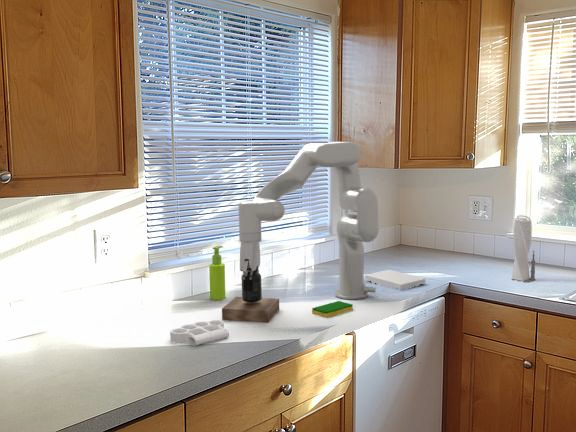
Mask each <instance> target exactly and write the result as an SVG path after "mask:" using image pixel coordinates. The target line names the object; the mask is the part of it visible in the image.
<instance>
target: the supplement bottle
mask: <svg viewBox="0 0 576 432" xmlns="http://www.w3.org/2000/svg"><path fill="white" fill-rule="evenodd" d="M258 269H259V268H258V266H257V267H256V270H254V271H253V274H252V279H253V291H244V280H243V274H241V297H242V300H243V301H245V302H257V301H260V300H261V299H262V298H263V296H262V295H263V292H262V290H263V289H262V288H263V287H262V286H263V285H262V275H261V273H260V272H259V273H258ZM248 270H251V269H248ZM249 275H250V273H249Z"/></svg>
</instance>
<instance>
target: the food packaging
mask: <svg viewBox="0 0 576 432" xmlns="http://www.w3.org/2000/svg"><path fill="white" fill-rule="evenodd" d="M364 280H368V281H370V282H371V284H372V283H374V284H375V283H376V284H375V285H378V284H380V285H379V286H381V285H384V286H383V287H385V286H388V287H387V288H389V287H392V288H391V289H393V288H395V289H394V290H398V289H399V290H398V291H403V290H402V289H405V290H408V289H407V288H409V289H411V288H410V287H413V286H417V285H419V286H421V285H420V284H422V285H425V284H426V278H424V277H420V276H416V275H412V274H408V273H403V272H402V271H401V272H400V271H395V270H391V269H386V270H381V271H377V272H373V273H368V274H364ZM413 288H414V287H413Z"/></svg>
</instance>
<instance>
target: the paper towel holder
mask: <svg viewBox="0 0 576 432" xmlns="http://www.w3.org/2000/svg"><path fill="white" fill-rule="evenodd" d="M532 226H533V225H532V220H531V218H530V217H529V216H527V215H521V214H520V215H517V216H516V217H515V218H514V224H513V230H512V232H513V234H512V237H513V238H512V241H513V242H512V243H513V251H514V261H513V267H512V274H511V280H512V281H515V280H517V281H516V282H521V281H523V282H522V283H527V282H528V283H530V281H531V282H533V281H534V282H535V281H536V280H537V279H536V276H535V275H536V274H535V273H536V270H535V269H536V266H535V265H536V260H535V250H532V260H531V261H530V262H529V257H528V256H529V252H530V248H531V244H532V235H533V233H532V232H533V230H532ZM529 263H531V264H530V265H531V267H530V265H529Z"/></svg>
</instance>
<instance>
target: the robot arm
mask: <svg viewBox="0 0 576 432" xmlns="http://www.w3.org/2000/svg"><path fill="white" fill-rule="evenodd" d="M361 154H362V151H361V148H360V146H359V145H358V144H357V143H355V142H353V141H329V142H326V143H325V142H318V143H317V142H313V143H312V142H311V143H307V144H305V145H303V147H302V148H300V150H299V152H298V153H297V154H296V155H295V156H294V158H293V159H292V160H291V161H290V163H289V164H288V165H287V166H286V168H285V169H284V171H282V172H281V173H280V174H278V175H277V176H275V177H273V179H271V180H270V181H269V182H267V183H266V184H265V185H264V186H262V188H261V189H260V190H259V191H258V193H256V195H255V196H254V197H253V199H252V200H243V201H240V203H239V204H238V231H239V232H238V233H239V234H238V235H239V236H238V237H239V243H240V245H239V247H240V248H239V249H240V250H239V271H240V272H242V275H243V280H244V291H253V279H252V274H253V271H254V270H256V267H257V266H258V273H259V274H260V271H259V268H260V266H261V250H260V249H261V246H260V243H261V242H262V222H277V221H279V220H281V219H282V218H283V217H284V215H285V211H286V209H285V206H284V204H283V203H282V202H281V201H279V199H280V198H282V197H283V196H284V195H287V194H289V193H292V192H294V191H297V190H299V189H300V188H302V187H303V186H304V185H305V184H306V182H307V181H308V180H309V178H310V177H311V176H312V175H313V173H314V172H315V171H316V170H317V169H318V168H333V169H334V171H335V173H336V175H337V186H338V187H337V188H338V203H339V206H340V208H341V209H342V210H345V211H348V212H354V213H356V214H353V213H348V214H344V215H341V216H340V217H339V219H338V220H337V222H336V234H337V239H338V252H339V253H338V257H339V258H338V260H339V261H338V267H339V269H338V276H339V277H338V279H339V281H338V282H339V283H338V290H336V291H334V295H335V297H337V298H339V299H343V300H344V299H345V300H361V299H366V298H367V297H368V296H369V293H373V294H375V293H376V287H374V286H367V285H366V282H365V248H364V244H363V243H371V242H373V241H374V240H375V239H376V238H377V236H378V234H379V229H380V228H379V226H380V225H379V224H380V223H379V222H380V220H379V218H380V217H379V202H378V197H377V195H376V192H375V191H374V190H372V189H371V188H369V187H366V186H362V180H361V173H360V169H359V167H358V164H357V163H358V162H359V161H360V159H361V156H362V155H361ZM248 269H251V270H248ZM249 273H250V275H249Z"/></svg>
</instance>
